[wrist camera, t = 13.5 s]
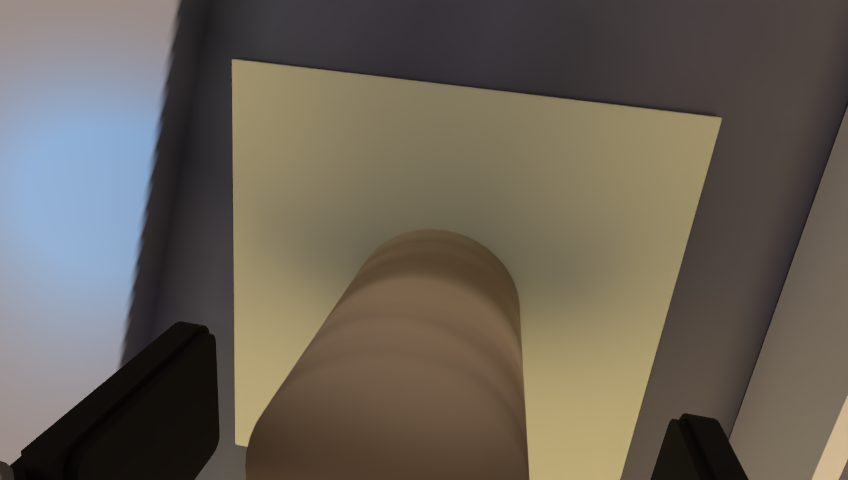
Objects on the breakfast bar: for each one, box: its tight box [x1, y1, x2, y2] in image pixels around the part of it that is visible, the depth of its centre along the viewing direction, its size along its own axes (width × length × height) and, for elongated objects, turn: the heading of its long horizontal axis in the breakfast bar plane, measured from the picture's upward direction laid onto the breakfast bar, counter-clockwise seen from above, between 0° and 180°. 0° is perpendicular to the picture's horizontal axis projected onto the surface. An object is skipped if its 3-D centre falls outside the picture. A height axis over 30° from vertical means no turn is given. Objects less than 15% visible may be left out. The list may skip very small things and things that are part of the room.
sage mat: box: [232, 59, 722, 480], centre depth 18 cm, size 14×14×1 cm
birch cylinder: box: [245, 229, 529, 480], centre depth 14 cm, size 6×6×8 cm
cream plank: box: [729, 106, 848, 480], centre depth 15 cm, size 20×1×4 cm, turn 174°
